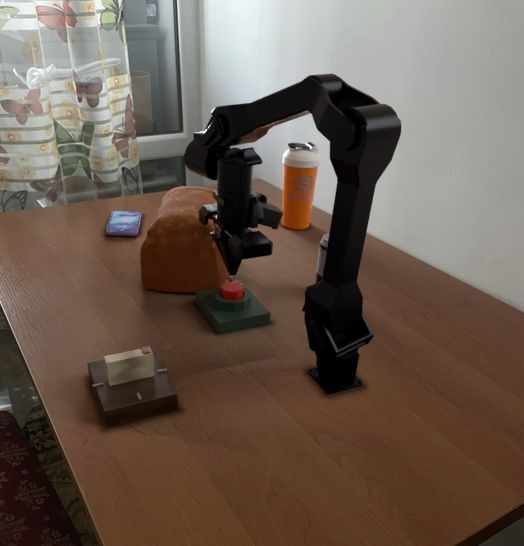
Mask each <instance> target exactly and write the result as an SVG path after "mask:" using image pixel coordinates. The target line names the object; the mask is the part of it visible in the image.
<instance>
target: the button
mask: <svg viewBox="0 0 524 546" xmlns="http://www.w3.org/2000/svg"><path fill="white" fill-rule="evenodd" d="M221 296H222V297H223V298H225V299H230V300H236V299H240V298H242V297H243V285H242V283H240V282H237V281H226V283H224V284H222V286H221Z"/></svg>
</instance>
